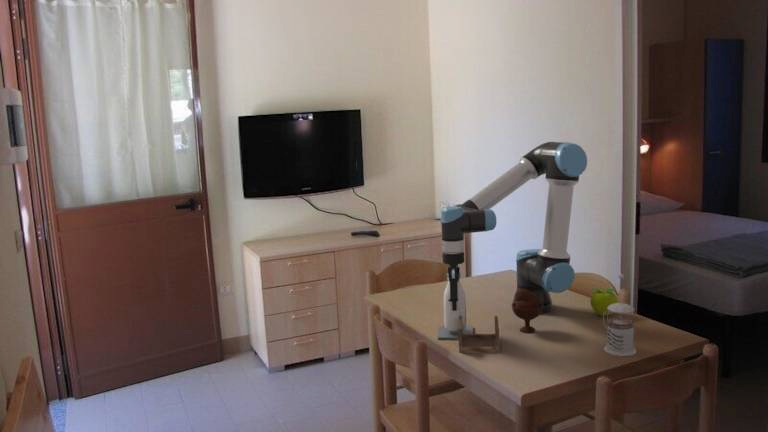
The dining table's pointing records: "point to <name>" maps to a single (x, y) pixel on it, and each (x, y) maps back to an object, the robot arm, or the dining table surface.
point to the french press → (620, 330)
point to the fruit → (602, 301)
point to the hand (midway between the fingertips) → (455, 314)
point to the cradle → (479, 336)
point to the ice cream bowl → (527, 308)
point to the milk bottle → (453, 323)
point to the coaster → (454, 333)
